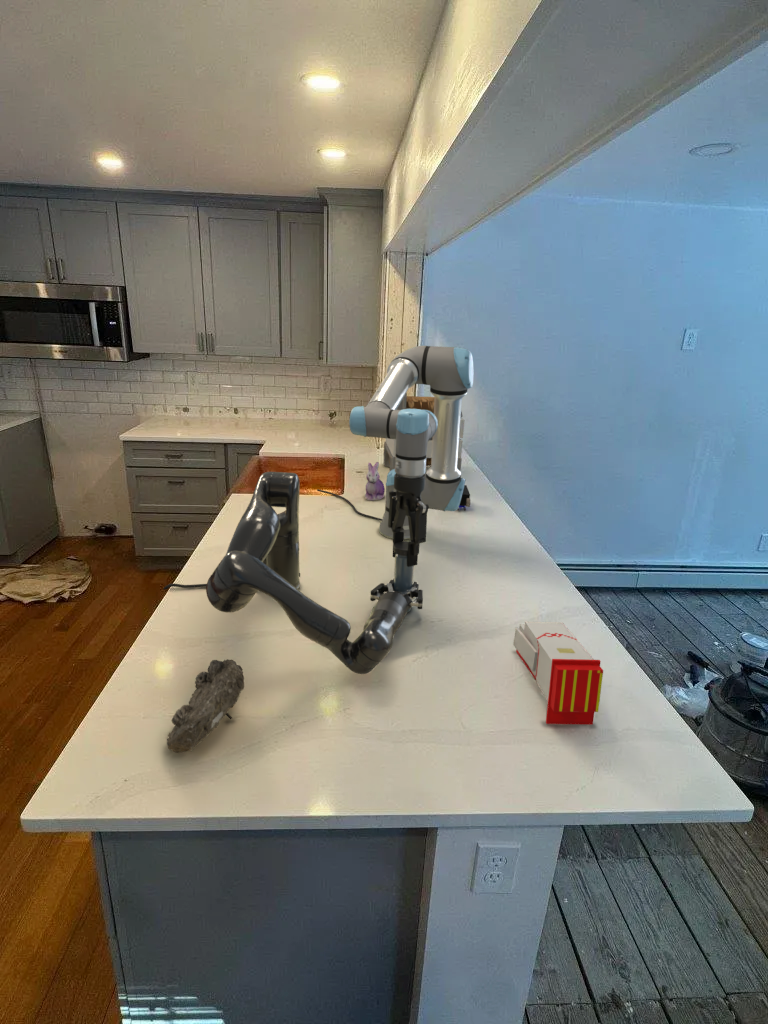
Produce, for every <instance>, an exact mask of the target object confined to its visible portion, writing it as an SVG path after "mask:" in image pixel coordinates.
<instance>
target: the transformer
mask: <svg viewBox="0 0 768 1024" xmlns="http://www.w3.org/2000/svg"><path fill="white" fill-rule="evenodd" d="M407 394H408V393H407V392H406V394H405V396H404V397H403V399H402V401H401V403H400V404H399V406H398V408H397V410H403V409H421V410H428V411H430V412H432V413H433V414H434V399H435V397H434V396H415V395H414V396H413V395H412V396H411V395H407ZM464 429H465V419H464V418H463V411H461V418H460V432H459V445H458V459H457V469H458V470H459V471H460V472H461V473H462V461H463V460H462V453H463V442H464V441H463V440H462V439H463V438H464V431H465V430H464ZM432 439H433V437H432V438H430V439H429V440H428V443H427V453H426V467H431V459H432ZM395 459H396V439H388V438H384V442H383V466H384V467H388V468H389V472H390V471H391V470H393V469H395Z"/></svg>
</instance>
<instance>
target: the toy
mask: <svg viewBox="0 0 768 1024" xmlns="http://www.w3.org/2000/svg"><path fill="white" fill-rule="evenodd" d="M514 629H515V630H514V637H513V643H512V644H513V647H514V648H515V653H516V654H517V655H518V657H519V658H520V660H521V662H522V663H523V664H524V665H525V667H526V669H527V670H528V672H529V673H530V675H531V676H532V678H533V679H534V680H535V682H536V684H537V686H538V687H539V689H540V691H541V692H542V694H543V696H544V698H545V700H546V702H547V707H546V715H545V716H546V717H545V724H546V725H582V726H583V725H585V726H586V725H589V726H591V725H594V719H595V713H599V709H600V701H601V693H602V686H603V685H602V684H603V677H604V669H603V668H602V667H601V662H602V661H601V660H600V659H594V657H592V655H591V654H590V653H589V651H588V650H587V649H586V648H585V647H584V646H583V644H582V643H581V642H580V641H579V640H578V639H577V638H576V636H575V635H574V634H573V633H572V632H571V631H570V629H569V628H568V627H567V625H566V624H564V622H562V621H561V622H559V621H558V622H557V621H556V622H555V621H524V623H519V627H515V628H514Z"/></svg>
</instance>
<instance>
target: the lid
mask: <svg viewBox="0 0 768 1024" xmlns="http://www.w3.org/2000/svg"><path fill="white" fill-rule="evenodd" d="M408 542H409V540H403V541H401V542H397V543H395V545H394V552H395V553H396V554H398V555H401V556H408Z"/></svg>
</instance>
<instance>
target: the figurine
mask: <svg viewBox="0 0 768 1024" xmlns="http://www.w3.org/2000/svg"><path fill="white" fill-rule="evenodd" d="M379 465H380V463H379V461H376V462H375V463H374V465H372V463H371V462H368V463H367V468H368V469H367V473H366V475H365V478H366V480H367V482H366V484H365V494H364V498H365V499H366V500H367V501H377V500H382V499H384V497H385V493H386V487H385V484H384V482H383V481H382V480H381V479H380V478H381V475H380V473H379V471H378V469H379Z"/></svg>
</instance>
